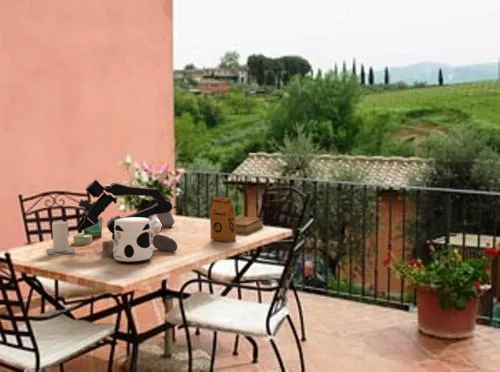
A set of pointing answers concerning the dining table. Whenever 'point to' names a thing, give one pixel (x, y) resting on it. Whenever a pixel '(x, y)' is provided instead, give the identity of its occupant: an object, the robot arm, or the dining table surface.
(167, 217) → the coffee pot
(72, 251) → the coaster
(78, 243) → the sage green dome
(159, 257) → the dining table surface
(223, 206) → the coffee package
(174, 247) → the grey oval stone
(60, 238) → the tumbler
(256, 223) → the diary
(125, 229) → the milk container
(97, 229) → the food container
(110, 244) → the walnut box
